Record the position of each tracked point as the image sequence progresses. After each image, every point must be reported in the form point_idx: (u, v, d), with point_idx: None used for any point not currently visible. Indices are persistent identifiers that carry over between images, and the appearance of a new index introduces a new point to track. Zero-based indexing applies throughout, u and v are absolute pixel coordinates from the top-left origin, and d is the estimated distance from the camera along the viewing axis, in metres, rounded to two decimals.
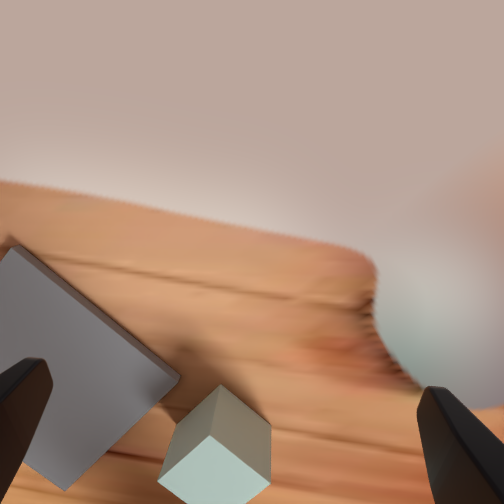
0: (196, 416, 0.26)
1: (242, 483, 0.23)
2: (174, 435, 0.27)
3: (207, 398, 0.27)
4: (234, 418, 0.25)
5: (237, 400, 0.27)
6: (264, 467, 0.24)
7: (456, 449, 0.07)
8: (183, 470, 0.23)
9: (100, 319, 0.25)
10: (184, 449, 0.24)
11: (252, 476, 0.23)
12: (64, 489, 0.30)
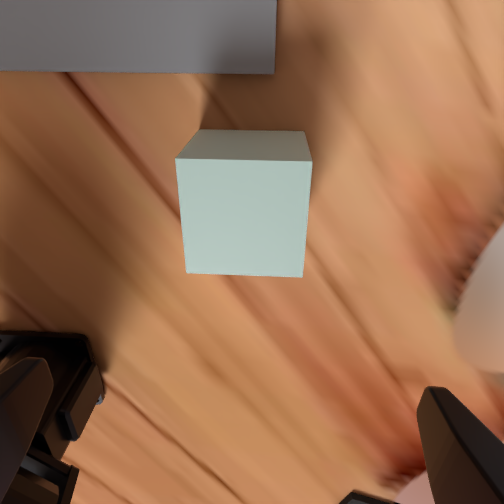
0: (254, 137, 0.17)
1: (274, 252, 0.16)
2: (200, 135, 0.17)
3: (275, 132, 0.18)
4: None
5: None
6: None
7: (456, 449, 0.07)
8: (226, 175, 0.14)
9: None
10: (241, 153, 0.14)
11: (295, 253, 0.16)
12: None
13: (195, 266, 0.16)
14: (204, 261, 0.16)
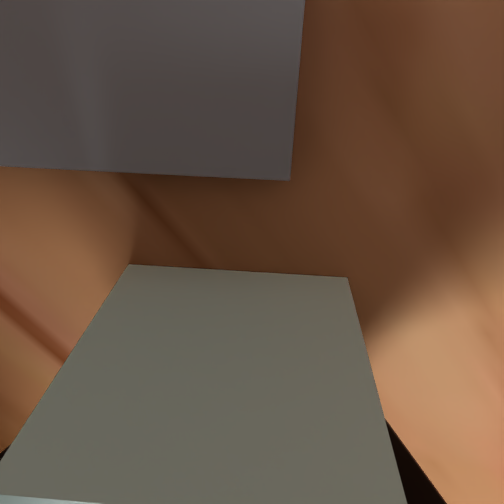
0: (240, 312, 0.07)
1: None
2: (117, 301, 0.08)
3: (286, 284, 0.08)
4: None
5: None
6: None
7: None
8: None
9: None
10: (195, 440, 0.05)
11: None
12: None
13: None
14: None
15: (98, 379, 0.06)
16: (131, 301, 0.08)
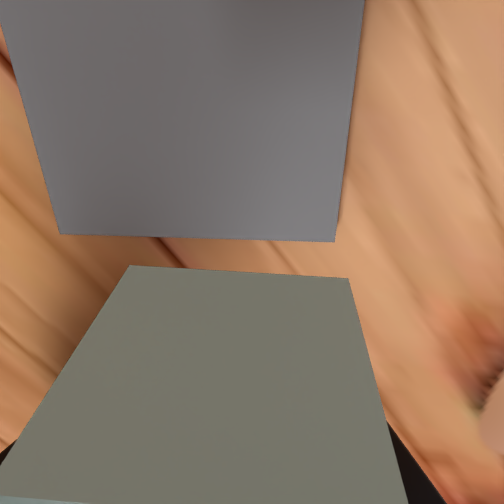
0: (241, 313, 0.07)
1: None
2: (119, 302, 0.08)
3: (287, 285, 0.08)
4: None
5: None
6: None
7: None
8: None
9: (352, 94, 0.15)
10: (196, 441, 0.05)
11: None
12: (62, 231, 0.19)
13: None
14: None
15: (100, 380, 0.06)
16: (132, 302, 0.08)
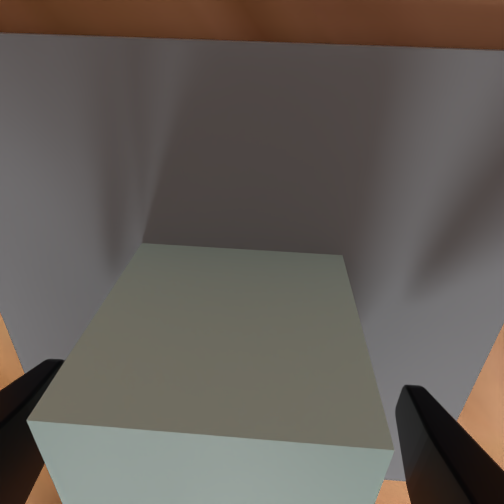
0: (245, 283, 0.08)
1: None
2: (134, 274, 0.08)
3: (287, 260, 0.09)
4: None
5: None
6: None
7: (429, 447, 0.07)
8: (165, 457, 0.05)
9: (490, 346, 0.11)
10: (207, 382, 0.06)
11: None
12: None
13: None
14: None
15: (121, 336, 0.07)
16: (146, 274, 0.08)
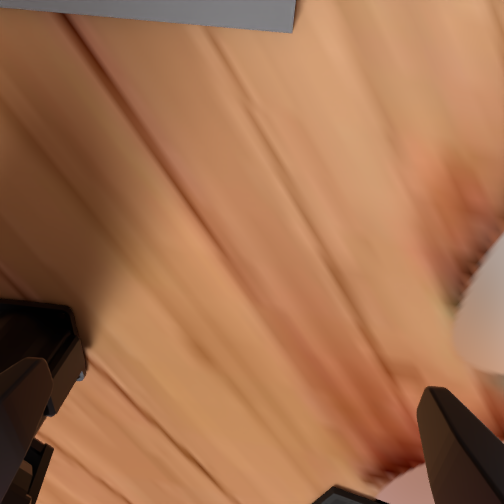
0: None
1: None
2: None
3: None
4: None
5: None
6: None
7: (456, 449, 0.07)
8: None
9: None
10: None
11: None
12: None
13: None
14: None
15: None
16: None
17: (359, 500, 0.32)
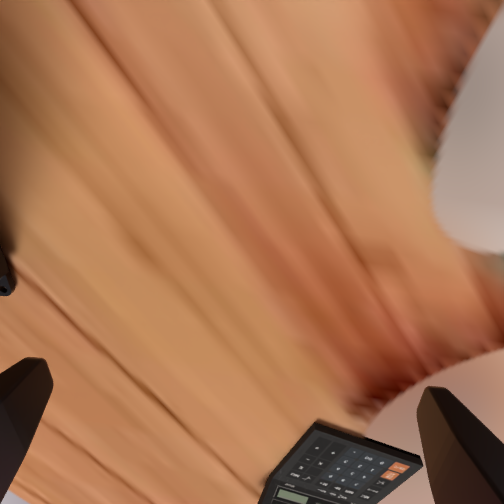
0: None
1: None
2: None
3: None
4: None
5: None
6: None
7: (456, 449, 0.07)
8: None
9: None
10: None
11: None
12: None
13: None
14: None
15: None
16: None
17: (345, 437, 0.28)
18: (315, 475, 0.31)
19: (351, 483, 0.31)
